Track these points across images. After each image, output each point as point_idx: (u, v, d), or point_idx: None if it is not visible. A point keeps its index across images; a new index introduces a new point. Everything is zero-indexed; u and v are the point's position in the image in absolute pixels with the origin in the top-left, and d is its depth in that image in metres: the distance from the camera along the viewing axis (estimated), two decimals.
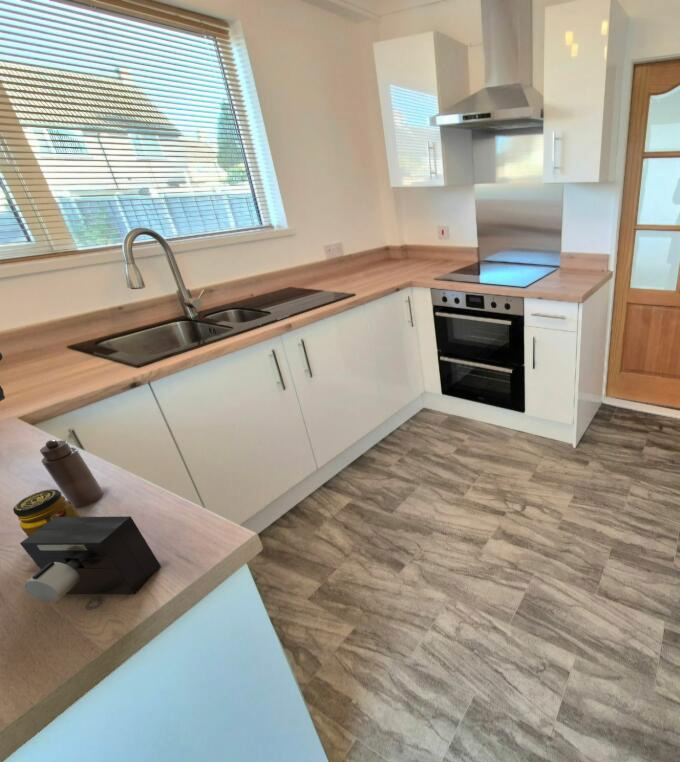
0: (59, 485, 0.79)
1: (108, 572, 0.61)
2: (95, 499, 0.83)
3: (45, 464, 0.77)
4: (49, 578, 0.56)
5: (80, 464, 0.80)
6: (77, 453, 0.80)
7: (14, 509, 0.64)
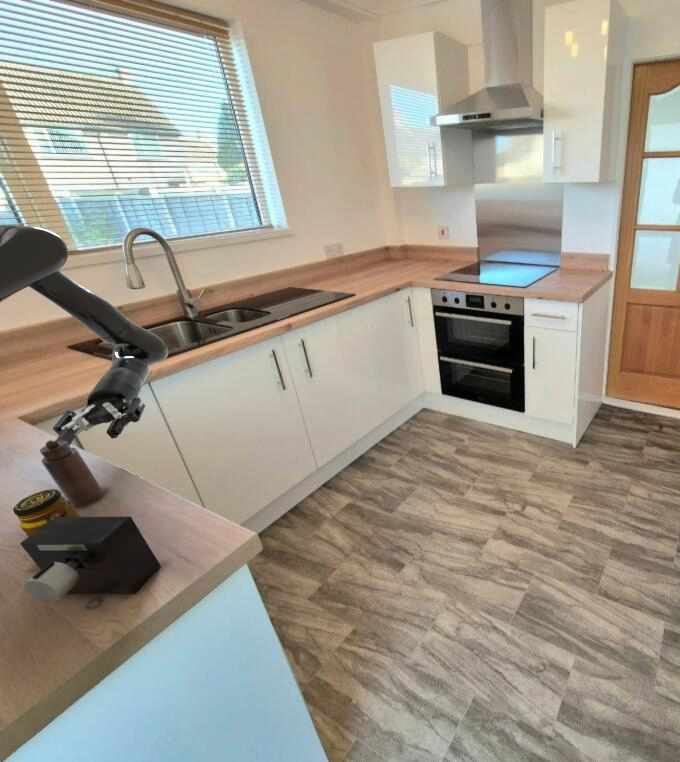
0: (59, 485, 0.79)
1: (108, 572, 0.61)
2: (95, 499, 0.83)
3: (45, 464, 0.77)
4: (49, 578, 0.56)
5: (80, 464, 0.80)
6: (77, 453, 0.80)
7: (14, 509, 0.64)
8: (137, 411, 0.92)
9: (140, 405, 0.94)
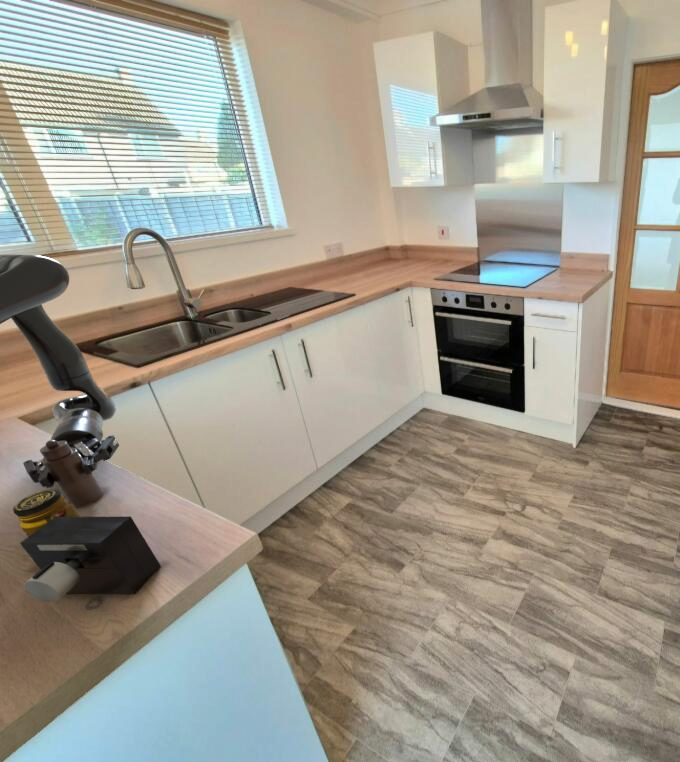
0: (59, 485, 0.79)
1: (108, 572, 0.61)
2: (95, 499, 0.83)
3: (45, 464, 0.77)
4: (49, 578, 0.56)
5: (80, 464, 0.80)
6: (77, 453, 0.80)
7: (14, 509, 0.64)
8: (109, 450, 0.86)
9: (114, 444, 0.88)
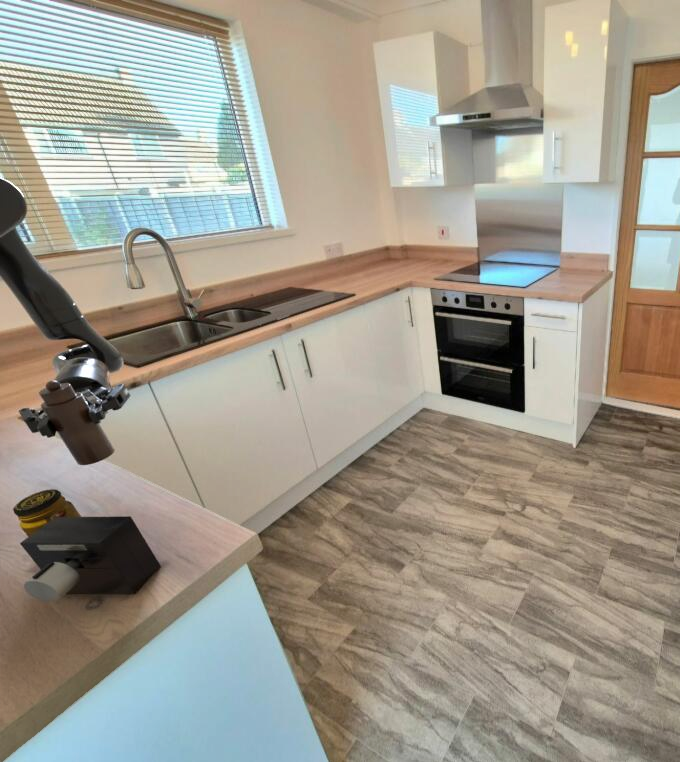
0: (62, 435, 0.67)
1: (108, 572, 0.61)
2: (104, 454, 0.71)
3: (45, 409, 0.65)
4: (49, 578, 0.56)
5: (86, 411, 0.68)
6: (83, 398, 0.68)
7: (14, 509, 0.64)
8: (119, 399, 0.74)
9: (124, 393, 0.76)
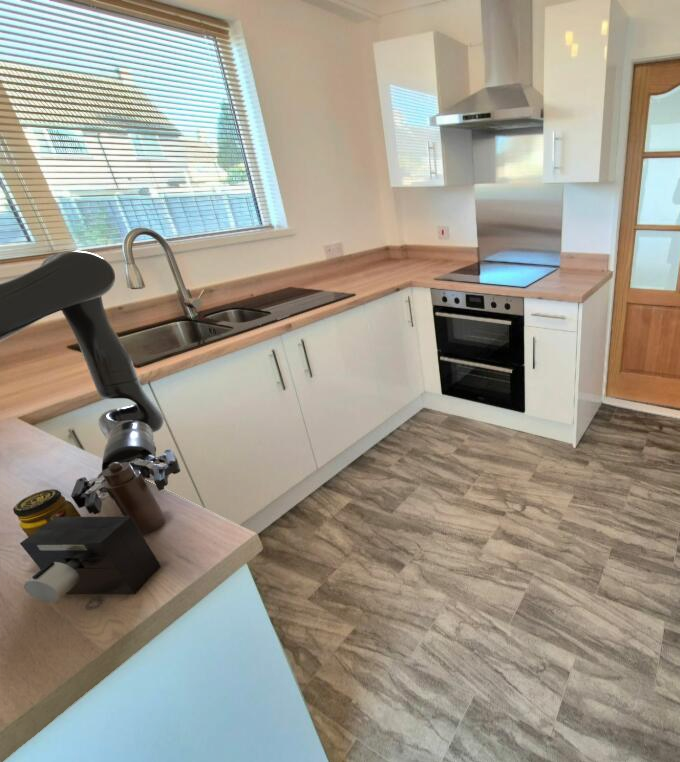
0: (122, 512, 0.71)
1: (108, 572, 0.61)
2: (158, 526, 0.75)
3: (108, 489, 0.69)
4: (49, 578, 0.56)
5: (144, 488, 0.73)
6: (141, 476, 0.72)
7: (14, 509, 0.64)
8: None
9: (175, 457, 0.81)
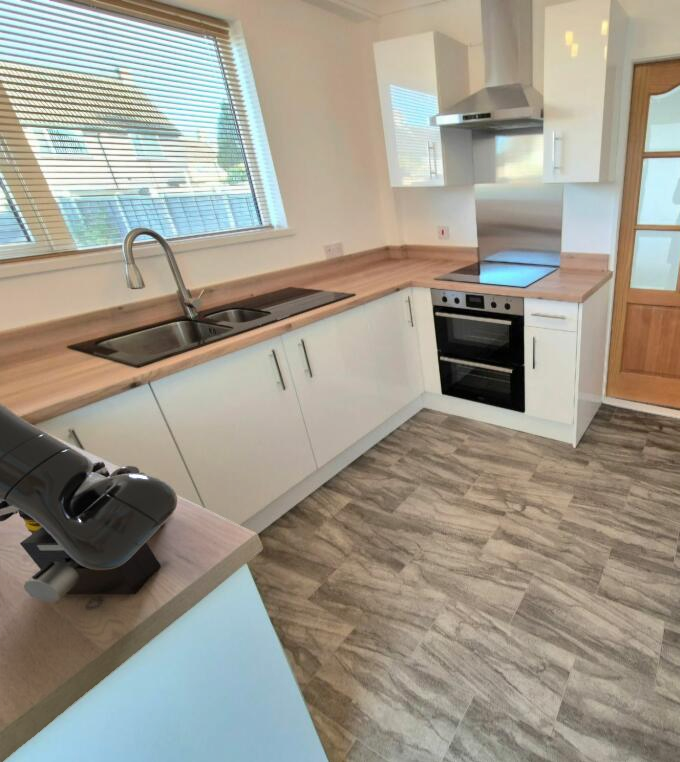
0: None
1: (108, 572, 0.61)
2: None
3: None
4: (49, 578, 0.56)
5: None
6: None
7: None
8: None
9: None
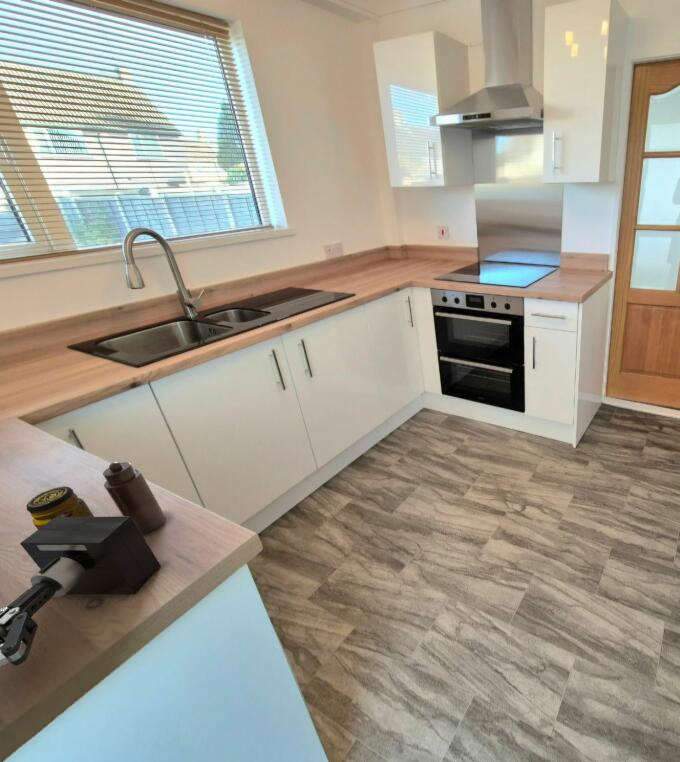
0: (122, 511, 0.72)
1: (108, 572, 0.61)
2: (159, 526, 0.75)
3: (109, 489, 0.69)
4: (56, 573, 0.57)
5: (144, 488, 0.73)
6: (141, 476, 0.72)
7: (27, 504, 0.65)
8: None
9: None
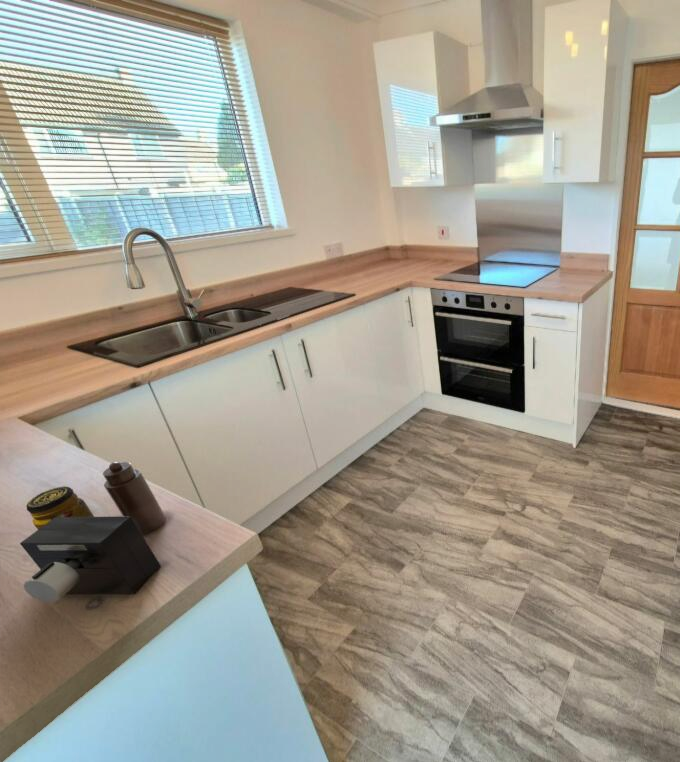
0: (122, 511, 0.72)
1: (108, 572, 0.61)
2: (159, 526, 0.75)
3: (109, 489, 0.69)
4: (49, 578, 0.56)
5: (144, 488, 0.73)
6: (141, 476, 0.72)
7: (27, 504, 0.65)
8: None
9: None
